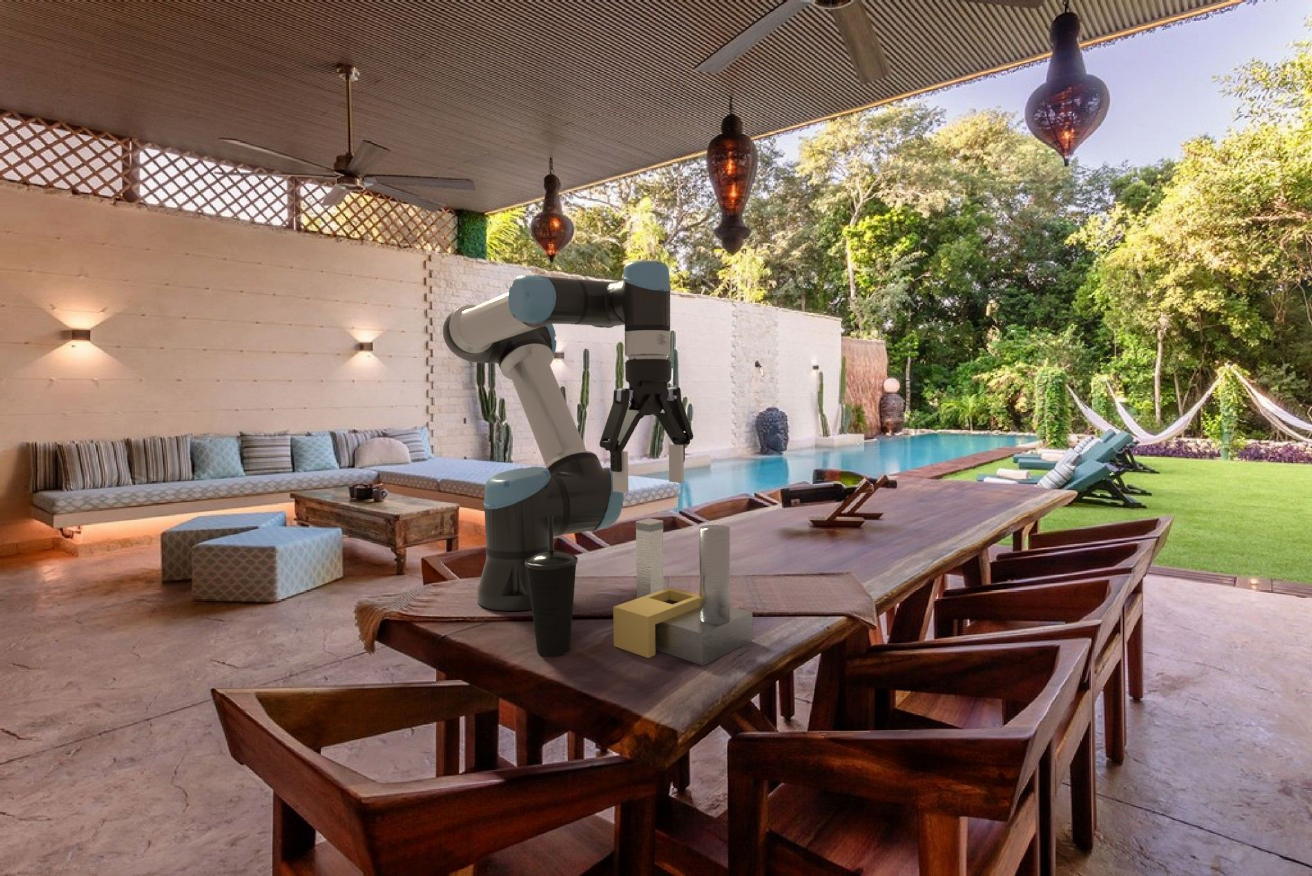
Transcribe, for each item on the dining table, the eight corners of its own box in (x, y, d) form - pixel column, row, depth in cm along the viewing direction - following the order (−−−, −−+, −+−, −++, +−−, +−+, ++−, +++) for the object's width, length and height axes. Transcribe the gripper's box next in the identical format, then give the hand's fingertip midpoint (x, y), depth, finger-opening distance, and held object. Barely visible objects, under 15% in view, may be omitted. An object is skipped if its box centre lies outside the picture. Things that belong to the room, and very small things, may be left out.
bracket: (613, 646, 105) (613, 606, 105) (671, 623, 115) (670, 587, 114) (648, 658, 101) (647, 617, 100) (705, 633, 110) (704, 595, 110)
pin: (636, 614, 119) (635, 521, 118) (649, 609, 122) (648, 518, 120) (651, 619, 117) (650, 523, 116) (664, 614, 119) (663, 520, 118)
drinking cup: (534, 664, 99) (530, 523, 97) (522, 645, 106) (518, 514, 104) (586, 655, 102) (583, 518, 100) (571, 637, 109) (568, 509, 107)
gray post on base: (625, 639, 108) (624, 523, 106) (676, 619, 117) (675, 511, 115) (702, 665, 98) (702, 537, 96) (752, 641, 107) (752, 523, 105)
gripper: (608, 356, 104) (611, 499, 106) (712, 358, 122) (713, 480, 124) (575, 357, 109) (578, 494, 111) (679, 360, 127) (681, 476, 129)
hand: (649, 487), depth 117 cm, fingers open, 13 cm apart
